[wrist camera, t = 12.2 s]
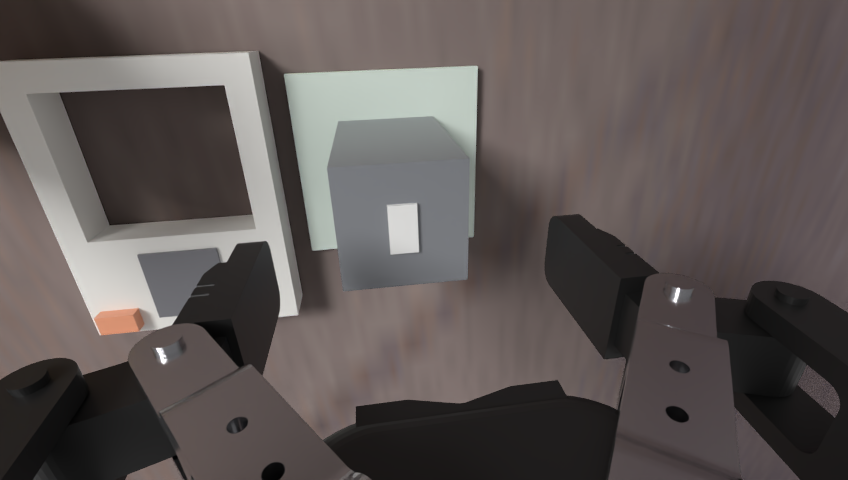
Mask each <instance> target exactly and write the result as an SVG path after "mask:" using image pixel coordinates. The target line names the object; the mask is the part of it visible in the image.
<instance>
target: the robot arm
mask: <svg viewBox="0 0 848 480" xmlns="http://www.w3.org/2000/svg"><path fill="white" fill-rule="evenodd" d="M545 275H546V279H547V281H548V284H549V285H550V287H551V288H552V289H553V291H554V292H555V293H556V295H557V296H558V297H559V299H560V300H561V301H562V303H563V304H564V306H565V307H566V308H567V310H568V311H569V312H570V314H571V315H572V316H573V318H574V319H575V320H576V322H577V323H578V324H579V326H580V327H581V329H582V330H583V331H584V333H585V334H586V335H587V337H588V338H589V339H590V341H591V342H592V343H593V345H594V346H595V348H596V349H597V350H598V352H599V353H600V354H601V356H602V357H603V358H604V359H611V358H619V357H625V359H626V364H625V368H624V372H623V377H622V382H621V387H620V392H619V396H618V401H617V406H616V409H614V408H612V407H610V406H608V405H605V404H602V403H599V402H596V401H593V400H589V399H585V398H580V397H574V396H566V394H565V392H564V391H563V389H562V387H561V385H560V383H559V382H558V380H555V381H547V382H540V383H532V384H525V385H517V386H510V387H507V388H504V389H502V390H499V391H496V392H493V393H491V394H488V395H485V396H483V397H480V398H477V399H474V400H472V401H469V402H466V403H461V404H458V403H443V402H430V401H417V400H402V401H395V402H387V403H379V404H372V405H364V406H356V424H353V425H350V426H348V427H346V428H344V429H342V430H339V431H337V432H335V433H334V434H332V435H330V436H329V437H327V438H326V439H324V440H322V439H321V438H320V437H319V436H318V435H317V434H316V433H315V432H314V430H313V429H312V428H311V427H310V426H309V425H308V424H307V423H306V422H305V421H304V420H303V419H302V418H301V417H300V416H299V414H298V413H297V412H296V411H295V410H294V409H293V408H292V407H291V406H290V405H289V404H288V403H287V402H286V401H285V400H284V398H283V397H282V396H281V395H280V394H279V393H278V392H277V391H276V390H275V389H274V388H273V387H272V386H271V385H270V384H269V382H268V381H267V380H266V379H265V378H264V377H263V376H262V375H263V371H264V368H265V364H266V360H267V357H268V353H269V349H270V345H271V342H272V338H273V334H274V331H275V327H276V323H277V319H278V316H279V312H280V292H279V287H278V282H277V278H276V273H275V269H274V264H273V259H272V255H271V250H270V247H269V244H268V242H267V241H260V242H248V243H238V244H237V245H236V246H235V248H234V250H233V252H232V253H231V255H230V257H229V259H228V261H227V262H223V263H217V264H216V265H215V266H213V267H212V268H211V269H209V270H208V271H207V272H205V273H204V274H203V276H202V277H201V279H200V281H199V282H198V284H197V288H195V289H194V290H193V292H192V294H191V297H190V298H188V300H187V302H186V303H185V305H184V307H183V308H182V310H181V311H180V313H179V315H178V316H177V318H176V320H175V321H174V323H173V324H172V325H171V326H168V327H164V328H162V329H159V330H157V331H155V332H152V333H151V334H149V335H147V336H145V337H144V338H143V339H141V340H140V341H139V342H138V343H136V344H135V345H134V347H133V348H132V349H131V351H130V352H129V355H128V361H127V362H124V363H121V364H118V365H115V366H112V367H108V368H105V369H102V370H98V371H95V372H92V373H88V374H85V375H82V373H81V371H80V369H79V367H78V365H77V363H76V362H75V361H73V360H71V359H67V358H54V359H48V360H43V361H40V362H36V363H33V364H30V365H28V366H25V367H23V368H21V369H19V370H17V371H15V372H13V373H11V374H9V375H7V376H6V377H4V378H3V379H1V380H0V480H125V479H126V477H127V474H130V473H132V472H135V471H138V470H140V469H143V468H145V467H148V466H150V465H153V464H155V463H158V462H160V461H163V460H166V459H168V458H171V459H172V461H173V463H174V465H175V467H176V468H177V470H178V472H179V474H180V476H181V478H182V480H742V477H741V472H740V463H739V452H738V441H737V430H736V419H735V409H734V407H735V408H736V409H737V410H738V411H739V412H740V414H741V415H742V416H743V417H744V418H745V419H746V420H747V421H748V422H749V423H750V425H751V426H752V427H753V428H754V429H755V430H756V431H757V432H758V433H759V434H760V436H761V437H762V438H763V439H764V440H765V441H766V442H767V443H768V444H769V446H770V447H771V448H772V449H773V450H774V451H775V452H776V453H777V454H778V455H779V457H780V458H781V459H782V460H783V461H784V462H785V463H786V464H787V465H788V466H789V468H790V469H791V470H792V471H793V472H794V473H795V474H796V475H797V476H798V478H799V479H800V480H848V313H847V312H846V311H844V310H843V309H841V308H839V307H838V306H836V305H835V304H833V303H831V302H830V301H828V300H827V299H825V298H823V297H822V296H820V295H818V294H817V293H815V292H813V291H811V290H808V289H806V288H803V287H800V286H797V285H793V284H790V283H785V282H778V281H762V282H758V283H755V284H754V285H753V286H752V288H751V291H750V293H749V296H748V299H747V300H738V299H726V298H715V296H714V293H713V292H712V290H711V289H710V288H709V287H708V286H706V285H705V284H703V283H702V282H700V281H698V280H695V279H693V278H690V277H687V276H684V275H679V274H673V273H659V272H657V271H656V270H655V269H654V268H653V267H651V266H650V265H649V264H648V263H647V262H645V261H644V260H643V259H642V258H640V257H639V256H638V255H637V254H634V252H633V251H632V250H631V249H629V248H628V247H625V244H623V243H622V242H621V241H620V240H619V239H617V238H616V237H615V236H613V235H611V234H609V233H607V232H604V231H602V230H600V229H596V228H595V227H594V226H593V225H592V224H590V223H589V222H588V221H587V220H586V219H585V218H583V217H582V216H581V215H579V214H575V215H564V216H554V217H552V218H551V220H550V222H549V228H548V238H547V247H546V256H545ZM806 365H808V366H810V367H811V368H812V369H813V370H815V371H816V372H817V373H818V374H819V375H821V376H822V377H823V378H824V379H826V380H827V381H828V382H829V383H830V384H831V385H832V386H833V387H834V388H835V390H836V392H837V394H838V396H839V399H840V410H839V412H838V414H837V416H836V417H835V418H834V417H833V416H832V415H831V414H830V413H828V412H827V411H826V410H825V409H824V408H823V407H822V406H820V405H819V404H818V403H817V402H816V401H815V400H814V399H813V398H811V397H810V396H809V395H808V394H807V393H806V392H805V391H803V390H802V389H801V388H800V387H799V386H798V385H797V384H798V382H799V380H800V378H801V376H802V374H803V372H804V369H805V367H806Z"/></svg>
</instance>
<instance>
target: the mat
mask: <svg viewBox="0 0 848 480" xmlns="http://www.w3.org/2000/svg"><path fill="white" fill-rule="evenodd" d="M477 78H478V66H455V67H431V68H408V69H384V70H360V71H337V72H313V73H289V74H284V79H285V85H286V91H287V98H288V104H289V110H290V116H291V122H292V129H293V135H294V141H295V147H296V153H297V160H298V166H299V172H300V178H301V185H302V191H303V197H304V203H305V209H306V216H307V222H308V228H309V234H310V240H311V247H312V251H315V250H327V249H338V248H337V241H336V233H335V226H334V218H333V210H332V203H331V195H330V188H329V180H328V173H327V165H328V161H329V157H330V153H331V149H332V145H333V141H334V137H335V133H336V129H337V125H338V121H353V120H371V119H389V118H408V117H426V116H433V117H434V118H435V119H436V120H437V122H438V123H439V124H440V125H441V126H442V127H443V128H444V130H445V131H446V132H447V133H448V134H449V135H450V136H451V138H452V139H453V140H454V141H455V142H456V143H457V144H458V146H459V147H460V148H461V149H462V150H463V151H464V152H465V154H466V155H467V156H468V157H469V158H470V170H469V230H468V237H474V208H475V165H476V121H477Z"/></svg>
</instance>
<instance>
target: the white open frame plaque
mask: <svg viewBox="0 0 848 480" xmlns="http://www.w3.org/2000/svg"><path fill="white" fill-rule="evenodd" d="M217 85H225V90H226V95H227V99H228V104H229V108H230V113H231V117H232V122H233V126H234V131H235V136H236V140H237V145H238V149H239V154H240V158H241V163H242V167H243V172H244V177H245V181H246V186H247V190H248V195H249V199H250V204H251V208H252V213H253V215H241V216H228V217H214V218H201V219H188V220H175V221H161V222H148V223H135V224H122V225H109V222H108V220H107V217H106V215H105V212H104V209H103V207H102V204H101V201H100V199H99V196H98V193H97V191H96V188H95V186H94V183H93V180H92V178H91V175H90V172H89V170H88V167H87V165H86V162H85V159H84V157H83V154H82V151H81V149H80V146H79V144H78V141H77V138H76V136H75V133H74V130H73V128H72V125H71V123H70V120H69V117H68V115H67V112H66V109H65V107H64V104H63V102H62V99H61V96H60V94H59V92H82V91H104V90H127V89H149V88H172V87H194V86H217ZM0 113H1V115H2V117H3V119H4V122H5V124H6V126H7V128H8V131H9V133H10V135H11V137H12V139H13V142H14V144H15V146H16V148H17V151H18V153H19V155H20V157H21V160H22V162H23V164H24V166H25V169H26V171H27V173H28V175H29V178H30V180H31V182H32V184H33V187H34V189H35V191H36V193H37V196H38V198H39V200H40V202H41V205H42V207H43V209H44V211H45V213H46V216H47V218H48V220H49V222H50V225H51V227H52V229H53V231H54V234H55V236H56V238H57V240H58V243H59V245H60V247H61V249H62V252H63V254H64V256H65V258H66V261H67V263H68V265H69V267H70V270H71V272H72V274H73V276H74V279H75V281H76V283H77V285H78V288H79V290H80V292H81V294H82V296H83V299H84V301H85V303H86V305H87V308H88V310H89V312H90V314H91V317H92V319H93V321H94V323H95V326H96V328H97V330H98V332H99V335H108V334H118V333H128V332H138V331H146V330H156V329H162V328H164V327H168V326H171V325H172V324H173V323H174V321H175V320H176V318H177V316H178V315H179V313H180V311H181V310H182V308H183V307H184V305H185V303H186V302H187V300H188V298H190V297H191V294H192V292H193V290H194V289H195V288H197V284H198V282H199V281H200V279H201V277H202V276H203V274H204V273H205V272H207V271H208V270H209V269H211V268H212V267H213V266H215V265H216V264H217V263H223V262H227V261H228V259H229V257H230V255H231V253H232V252H233V250H234V248H235V246H236V245H237V244H238V243H248V242H260V241H267V242H268V244H269V247H270V250H271V255H272V259H273V264H274V269H275V273H276V278H277V282H278V287H279V292H280V312H279V316H278V317H285V316H295V315H298V314H299V310H300V305H301V300H302V296H303V294H302V288H301V283H300V277H299V272H298V266H297V261H296V255H295V250H294V244H293V239H292V233H291V228H290V222H289V217H288V211H287V206H286V200H285V194H284V189H283V183H282V178H281V172H280V167H279V161H278V156H277V150H276V145H275V139H274V134H273V128H272V123H271V117H270V112H269V106H268V100H267V95H266V89H265V84H264V78H263V73H262V67H261V62H260V56H259V51H242V52H214V53H187V54H160V55H132V56H105V57H78V58H50V59H23V60H6V61H0Z"/></svg>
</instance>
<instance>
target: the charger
mask: <svg viewBox="0 0 848 480" xmlns="http://www.w3.org/2000/svg"><path fill="white" fill-rule="evenodd" d="M469 170H470V158H469V157H468V156H467V155H466V154H465V152H464V151H463V150H462V149H461V148H460V147H459V146H458V144H457V143H456V142H455V141H454V140H453V139H452V138H451V136H450V135H449V134H448V133H447V132H446V131H445V130H444V128H443V127H442V126H441V125H440V124H439V123H438V122H437V120H436V119H435V118H434V117H433V116H426V117H408V118H389V119H371V120H353V121H338V125H337V129H336V133H335V137H334V141H333V145H332V149H331V153H330V157H329V161H328V165H327V173H328V180H329V188H330V195H331V203H332V210H333V218H334V226H335V233H336V241H337V248H338V256H339V264H340V271H341V279H342V286H343V291H352V290H362V289H373V288H383V287H394V286H404V285H414V284H425V283H435V282H446V281H456V280H466V279H468V230H469Z"/></svg>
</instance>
